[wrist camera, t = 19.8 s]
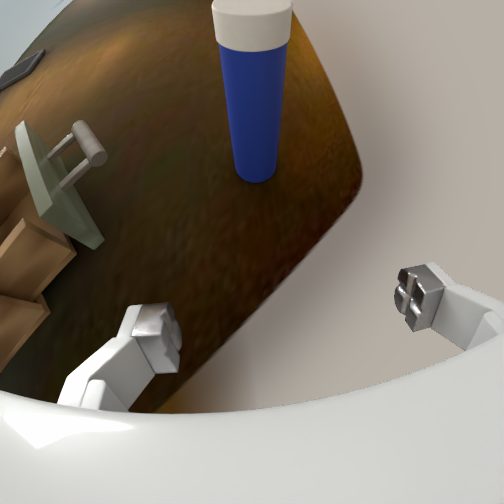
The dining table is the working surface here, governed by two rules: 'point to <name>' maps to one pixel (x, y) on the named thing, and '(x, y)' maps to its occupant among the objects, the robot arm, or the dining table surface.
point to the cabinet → (18, 324)
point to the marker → (253, 78)
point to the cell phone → (20, 70)
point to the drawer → (42, 210)
